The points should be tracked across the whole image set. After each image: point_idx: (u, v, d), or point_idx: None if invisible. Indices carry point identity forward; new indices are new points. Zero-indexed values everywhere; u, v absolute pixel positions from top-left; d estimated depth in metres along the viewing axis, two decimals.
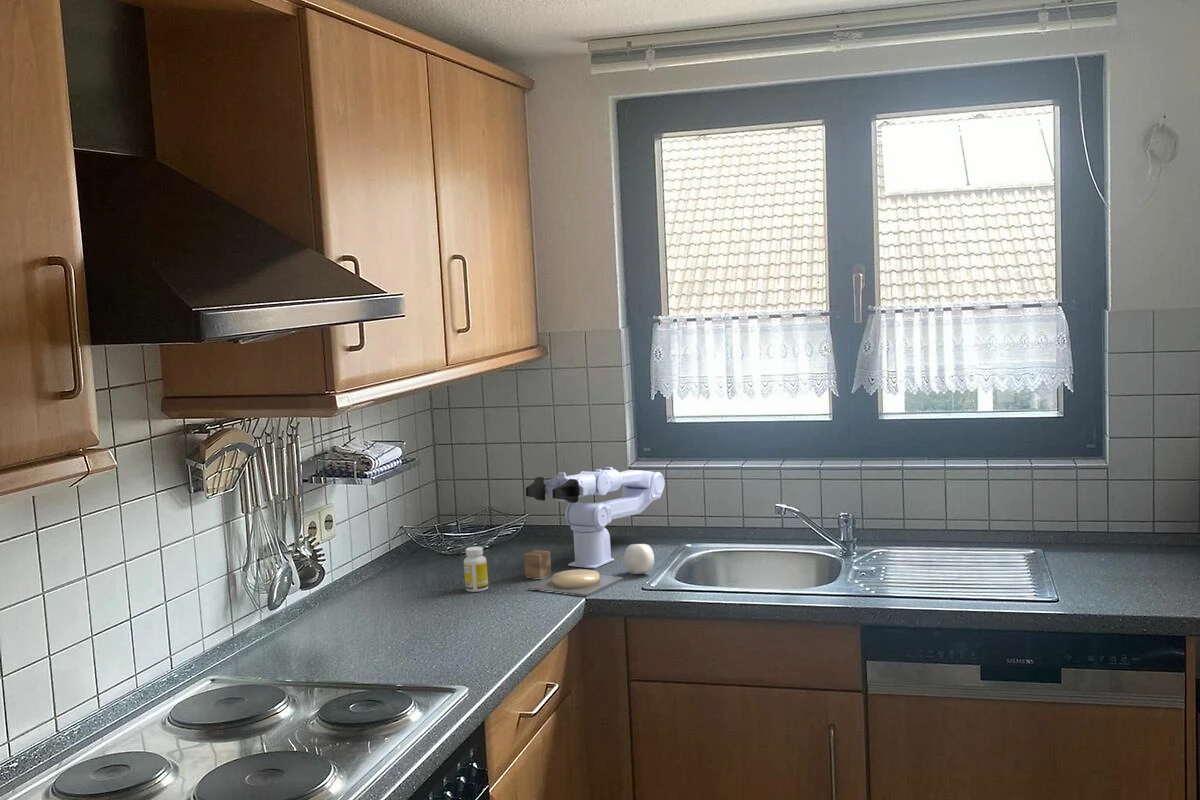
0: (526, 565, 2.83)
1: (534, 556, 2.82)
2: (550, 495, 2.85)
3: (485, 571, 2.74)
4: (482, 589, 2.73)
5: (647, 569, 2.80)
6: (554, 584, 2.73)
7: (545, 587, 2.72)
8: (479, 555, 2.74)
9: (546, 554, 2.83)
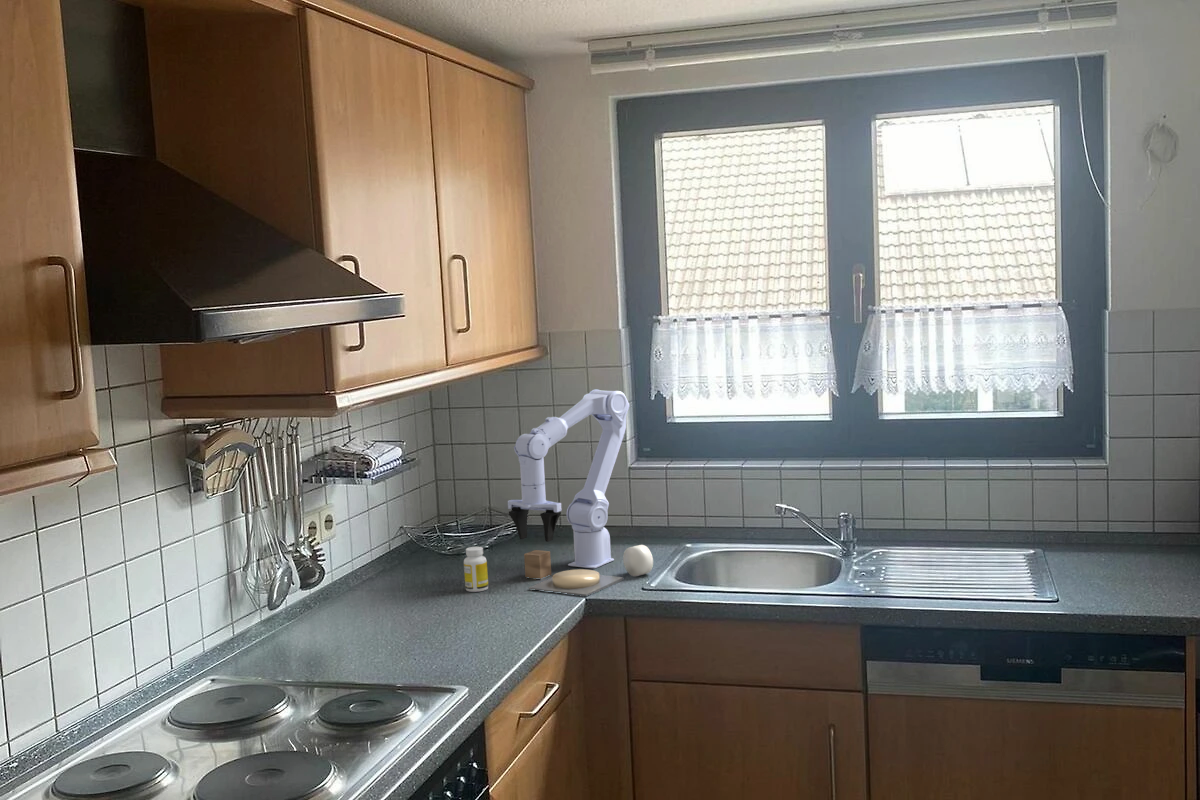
0: (526, 565, 2.83)
1: (534, 556, 2.82)
2: None
3: (485, 571, 2.74)
4: (482, 589, 2.73)
5: (647, 571, 2.80)
6: (554, 584, 2.73)
7: (545, 587, 2.72)
8: (479, 555, 2.74)
9: (546, 554, 2.83)
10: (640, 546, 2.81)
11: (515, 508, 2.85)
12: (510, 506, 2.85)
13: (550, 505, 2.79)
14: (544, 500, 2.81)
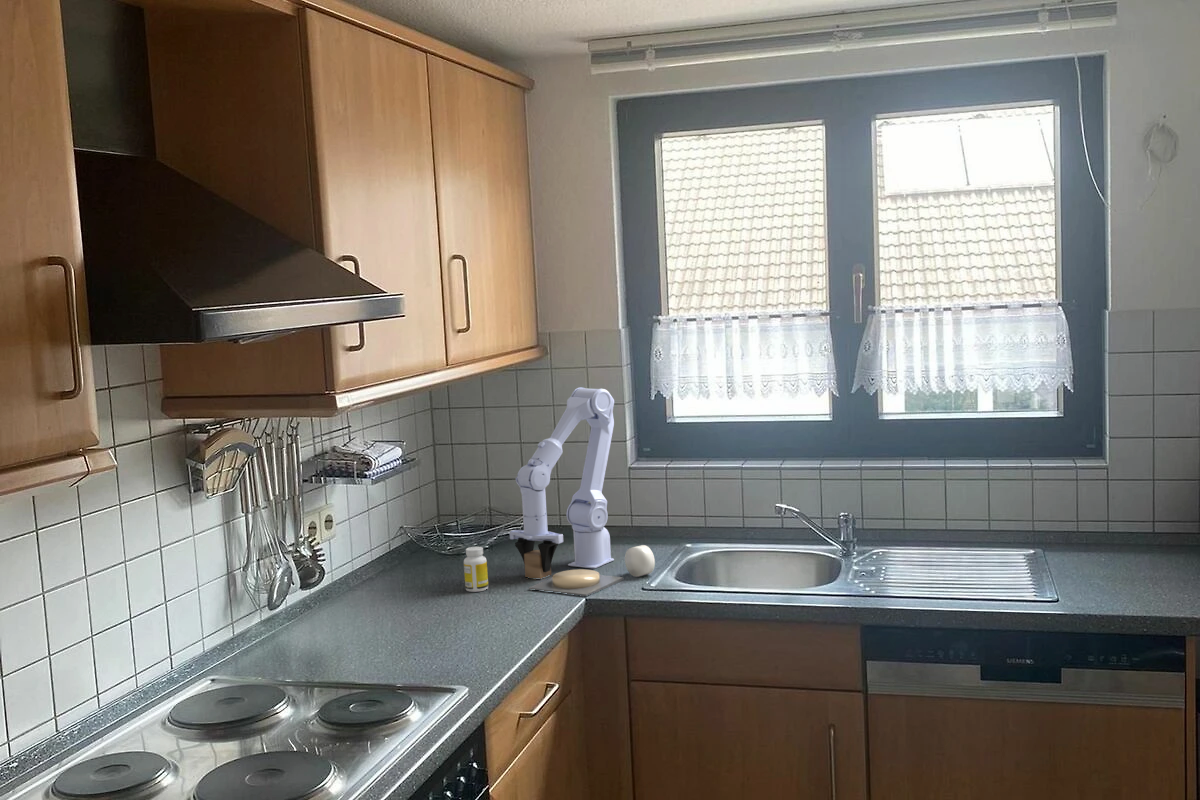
0: (526, 565, 2.83)
1: (534, 556, 2.82)
2: None
3: (485, 571, 2.74)
4: (482, 589, 2.73)
5: (647, 573, 2.80)
6: (554, 584, 2.73)
7: (545, 587, 2.72)
8: (479, 555, 2.74)
9: None
10: (643, 547, 2.80)
11: None
12: (512, 537, 2.86)
13: (552, 536, 2.79)
14: (546, 531, 2.82)
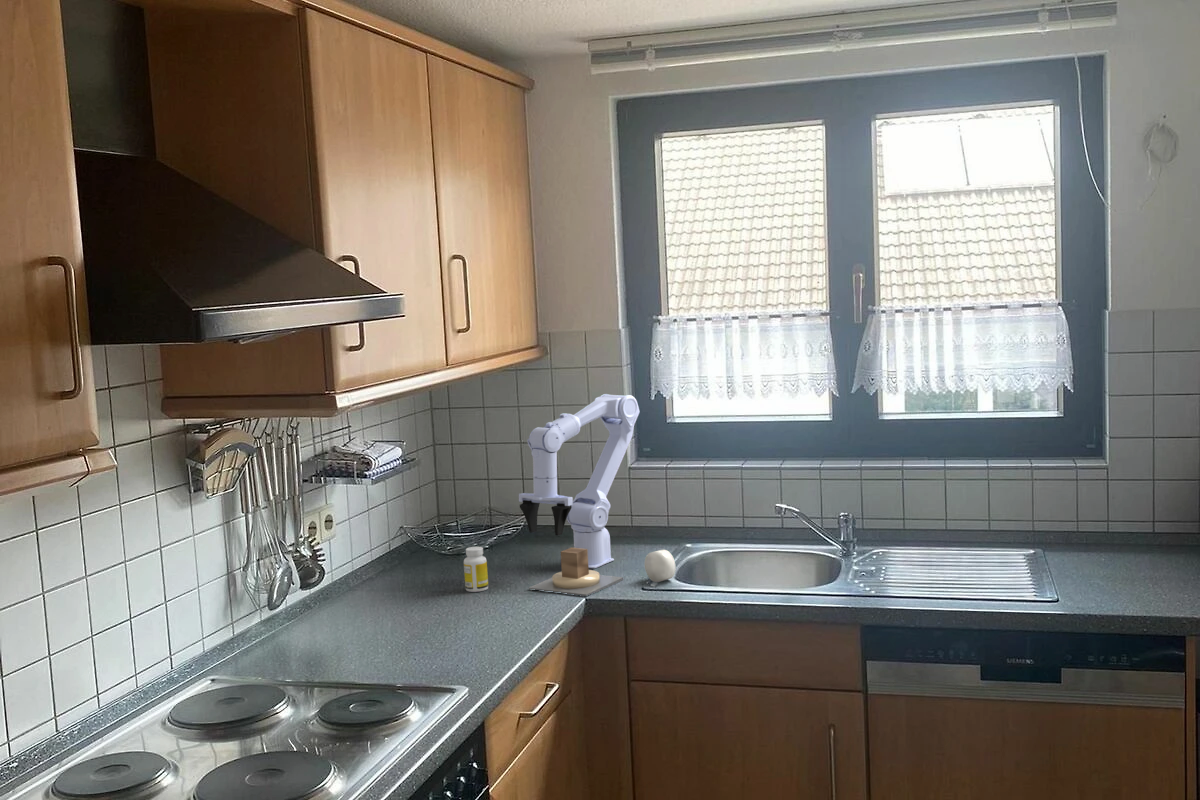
0: (563, 563, 2.73)
1: (571, 554, 2.72)
2: None
3: (485, 571, 2.74)
4: (482, 589, 2.73)
5: None
6: (554, 584, 2.73)
7: (545, 587, 2.72)
8: (479, 555, 2.74)
9: (583, 552, 2.73)
10: (668, 578, 2.74)
11: (526, 501, 2.86)
12: (521, 499, 2.86)
13: (561, 499, 2.79)
14: (555, 494, 2.82)
